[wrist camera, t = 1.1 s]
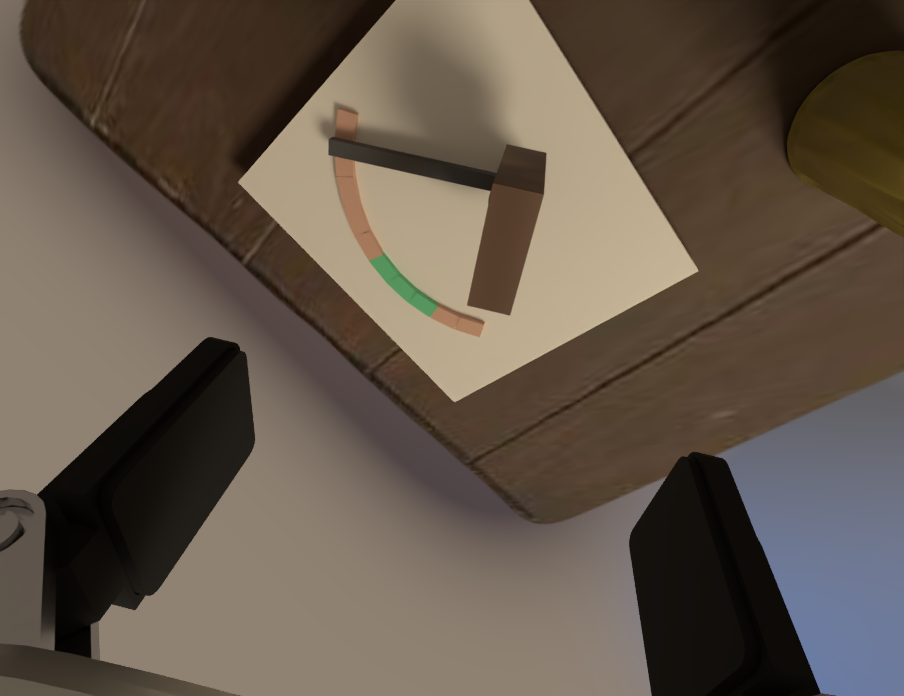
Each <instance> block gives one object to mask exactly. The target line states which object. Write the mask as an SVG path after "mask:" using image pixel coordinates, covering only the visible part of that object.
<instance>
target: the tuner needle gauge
mask: <svg viewBox="0 0 904 696" xmlns="http://www.w3.org/2000/svg"><path fill="white" fill-rule="evenodd" d="M328 155H330V156H335V157H339V158H344V159H348V160H353V161H357V162H362V163H366V164H371V165H375V166H380V167H384V168H389V169H393V170H397V171H402V172H406V173H411V174H415V175H420V176H424V177H429V178H433V179H438V180H442V181H447V182H451V183H456V184H460V185H465V186H469V187H474V188H478V189H482V190H487V191H491V192H490V195H489V199H488V209H487V213H486V218H485V223H484V227H483V232H482V237H481V241H480V246H479V251H478V255H477V260H476V265H475V269H474V274H473V279H472V283H471V288H470V293H469V297H468V302H467V306H471V307H475V308H479V309H484V310H488V311H492V312H497V313H501V314H505V315H509V316H510V314H511V311H512V307H513V304H514V300H515V297H516V293H517V289H518V286H519V282H520V279H521V275H522V272H523V268H524V264H525V261H526V257H527V254H528V250H529V247H530V243H531V239H532V236H533V232H534V229H535V225H536V222H537V218H538V214H539V211H540V207H541V204H542V200H543V197H544V187H545V171H546V155H547V153H545V152H541V151H536V150H532V149H527V148H522V147H518V146H513V145H509V144H507V145H506V148H505V151H504V154H503V157H502V159H501V162H500V165H499V168H498V170H497V173H495V172H490V171H486V170H481V169H477V168H472V167H468V166H463V165H459V164H454V163H450V162H445V161H441V160H436V159H431V158H427V157H422V156H418V155H413V154H409V153H404V152H400V151H395V150H391V149H386V148H382V147H377V146H373V145H368V144H364V143H359V142H355V141H350V140H346V139H341V138H337V137H331V138H330V139H329V144H328Z"/></svg>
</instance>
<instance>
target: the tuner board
mask: <svg viewBox="0 0 904 696" xmlns="http://www.w3.org/2000/svg"><path fill="white" fill-rule="evenodd" d="M331 137H337V138H341V139H346V140H350V141H355V142H359V143H364V144H368V145H373V146H377V147H382V148H386V149H391V150H395V151H400V152H404V153H409V154H413V155H418V156H422V157H427V158H431V159H436V160H441V161H445V162H450V163H454V164H459V165H463V166H468V167H472V168H477V169H481V170H486V171H490V172H495V173H497V170H498V168H499V165H500V162H501V159H502V157H503V154H504V151H505V148H506V145H507V144H509V145H513V146H518V147H522V148H527V149H532V150H536V151H541V152H545V153H547V155H546V171H545V187H544V197H543V200H542V204H541V207H540V211H539V214H538V218H537V222H536V225H535V229H534V232H533V236H532V239H531V243H530V247H529V250H528V254H527V257H526V261H525V264H524V268H523V272H522V275H521V279H520V282H519V286H518V289H517V293H516V297H515V300H514V304H513V307H512V311H511V314H510V316H509V315H505V314H501V313H497V312H492V311H488V310H484V309H479V308H475V307H471V306H467V302H468V297H469V293H470V288H471V283H472V279H473V274H474V269H475V265H476V260H477V255H478V251H479V246H480V241H481V237H482V232H483V227H484V223H485V218H486V213H487V209H488V199H489V195H490V192H491V191H487V190H482V189H478V188H474V187H469V186H465V185H460V184H456V183H451V182H447V181H442V180H438V179H433V178H429V177H424V176H420V175H415V174H411V173H406V172H402V171H397V170H393V169H389V168H384V167H380V166H375V165H371V164H366V163H362V162H357V161H353V160H348V159H344V158H339V157H335V156H330V155H328V144H329V139H330V138H331ZM238 183H239V184H240V185H241V186H242V187H243V188H244V189H245V190H246V191H247V192H248V193H249V194H250V195H251V196H252V197H253V198H254V199H255V200H256V201H257V202H258V203H259V204H260V205H261V206H262V207H263V208H264V209H265V210H266V211H267V212H268V213H269V214H270V215H271V216H272V217H273V218H274V219H275V220H276V221H277V222H278V223H279V224H280V225H281V226H282V227H283V228H284V229H285V230H286V231H287V233H288V234H289V235H290V236H291V237H292V238H293V239H294V240H295V241H296V242H297V243H298V244H299V245H300V246H301V247H302V248H303V249H304V250H305V251H306V252H307V253H308V254H309V255H310V256H311V257H312V258H313V259H314V260H315V261H316V262H317V263H318V264H319V265H320V266H321V267H322V268H323V269H324V270H325V271H326V272H327V273H328V274H329V275H330V276H331V277H332V278H333V279H334V280H335V281H336V282H337V283H338V284H339V285H340V286H341V287H342V288H343V289H344V290H345V292H346V293H347V294H348V295H349V296H350V297H351V298H352V299H353V300H354V301H355V302H356V303H357V304H358V305H359V306H360V307H361V308H362V309H363V310H364V311H365V312H366V313H367V314H368V315H369V316H370V317H371V318H372V319H373V320H374V321H375V322H376V323H377V324H378V325H379V326H380V327H381V328H382V329H383V330H384V331H385V332H386V333H387V334H388V335H389V336H390V337H391V338H392V339H393V340H394V341H395V342H396V343H397V344H398V345H399V346H400V347H401V348H402V349H403V350H404V352H405V353H406V354H407V355H408V356H409V357H410V358H411V359H412V360H413V361H414V362H415V363H416V364H417V365H418V366H419V367H420V368H421V369H422V370H423V371H424V372H425V373H426V374H427V375H428V376H429V377H430V378H431V379H432V380H433V381H434V382H435V383H436V384H437V385H438V386H439V387H440V388H441V389H442V390H443V391H444V392H445V393H446V394H447V395H448V396H449V397H450V398H451V399H452V400H453V401H454V402H456V401H458V400H460V399H461V398H463V397H465V396H467V395H469V394H471V393H473V392H474V391H476V390H478V389H480V388H482V387H484V386H486V385H487V384H489V383H491V382H493V381H495V380H497V379H499V378H500V377H502V376H504V375H506V374H508V373H510V372H512V371H513V370H515V369H517V368H519V367H521V366H523V365H525V364H527V363H528V362H530V361H532V360H534V359H536V358H538V357H540V356H541V355H543V354H545V353H547V352H549V351H551V350H553V349H554V348H556V347H558V346H560V345H562V344H564V343H566V342H567V341H569V340H571V339H573V338H575V337H577V336H579V335H580V334H582V333H584V332H586V331H588V330H590V329H592V328H593V327H595V326H597V325H599V324H601V323H603V322H605V321H606V320H608V319H610V318H612V317H614V316H616V315H618V314H619V313H621V312H623V311H625V310H627V309H629V308H631V307H633V306H634V305H636V304H638V303H640V302H642V301H644V300H646V299H647V298H649V297H651V296H653V295H655V294H657V293H659V292H660V291H662V290H664V289H666V288H668V287H670V286H672V285H673V284H675V283H677V282H679V281H681V280H683V279H685V278H686V277H688V276H690V275H692V274H694V273H696V272H698V269H697V267H696V265H695V263H694V262H693V260H692V258H691V257H690V255H689V253H688V252H687V250H686V249H685V247H684V245H683V244H682V242H681V241H680V239H679V237H678V236H677V234H676V233H675V231H674V229H673V228H672V226H671V225H670V223H669V221H668V220H667V218H666V217H665V215H664V213H663V212H662V210H661V209H660V207H659V205H658V204H657V202H656V201H655V199H654V197H653V196H652V194H651V193H650V191H649V189H648V188H647V186H646V185H645V183H644V182H643V180H642V178H641V177H640V175H639V174H638V172H637V170H636V169H635V167H634V166H633V164H632V162H631V161H630V159H629V158H628V156H627V154H626V153H625V151H624V150H623V148H622V146H621V145H620V143H619V142H618V140H617V138H616V137H615V135H614V134H613V132H612V130H611V129H610V127H609V126H608V124H607V122H606V121H605V119H604V118H603V116H602V114H601V113H600V111H599V110H598V108H597V106H596V105H595V103H594V102H593V100H592V98H591V97H590V95H589V94H588V92H587V91H586V89H585V87H584V86H583V84H582V83H581V81H580V79H579V78H578V76H577V75H576V73H575V71H574V70H573V68H572V67H571V65H570V63H569V62H568V60H567V59H566V57H565V55H564V54H563V52H562V51H561V49H560V47H559V46H558V44H557V43H556V41H555V39H554V38H553V36H552V35H551V33H550V31H549V30H548V28H547V27H546V25H545V23H544V22H543V20H542V19H541V17H540V15H539V14H538V12H537V11H536V9H535V7H534V6H533V4H532V3H531V1H530V0H395V2H394V3H393V4H392V5H391V6H390V7H389V9H388V10H387V11H386V12H385V13H384V14H383V15H382V17H381V18H380V19H379V20H378V21H377V22H376V24H375V25H374V26H373V27H372V28H371V29H370V30H369V32H368V33H367V34H366V35H365V36H364V37H363V39H362V40H361V41H360V42H359V43H358V44H357V45H356V47H355V48H354V49H353V50H352V51H351V52H350V54H349V55H348V56H347V57H346V58H345V59H344V61H343V62H342V63H341V64H340V65H339V66H338V67H337V69H336V70H335V71H334V72H333V73H332V74H331V76H330V77H329V78H328V79H327V80H326V81H325V82H324V84H323V85H322V86H321V87H320V88H319V89H318V91H317V92H316V93H315V94H314V95H313V96H312V97H311V99H310V100H309V101H308V102H307V103H306V104H305V106H304V107H303V108H302V109H301V110H300V111H299V112H298V114H297V115H296V116H295V117H294V118H293V119H292V121H291V122H290V123H289V124H288V125H287V126H286V127H285V129H284V130H283V131H282V132H281V133H280V134H279V136H278V137H277V138H276V139H275V140H274V141H273V142H272V144H271V145H270V146H269V147H268V148H267V149H266V151H265V152H264V153H263V154H262V155H261V156H260V157H259V159H258V160H257V161H256V162H255V163H254V164H253V166H252V167H251V168H250V169H249V170H248V171H247V172H246V174H245V175H244V176H243V177H242V178H241V179H240V181H239V182H238Z"/></svg>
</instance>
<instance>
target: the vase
mask: <svg viewBox="0 0 904 696" xmlns="http://www.w3.org/2000/svg"><path fill="white" fill-rule="evenodd" d="M787 154H788V160H789V163H790V166H791V168H792V170H793V171H794V173H795V174H796V175H797V176H798V177H799V178H800V179H801V180H802V181H803V182H804V183H805V184H807V185H808V186H810V187H812V188H816V189H820V190H822V191H823V192H825V193H827V194H829V195H831V196H833V197H835V198H837V199H839V200H840V201H842V202H844V203H846V204H848V205H850V206H851V207H853V208H855V209H857V210H858V211H860V212H862V213H863V214H865V215H866V216H868V217H869V218H871V219H873V220H874V221H876V222H877V223H879V224H881V225H883V226H884V227H886V228H888V229H889V230H891V231H893V232H894V233H896V234H898V235H900V236H902V237H904V51H887V52H879V53H874V54H869V55H866V56H863V57H860V58H858V59H856V60H854V61H851V62H849V63H847V64H846V65H844V66H842V67H840V68H839V69H837V70H836V71H834V72H833V73H831V74H830V75H829V76H827V77H826V78H825V79H824V80H823V81H821V82H820V83H819V84H818V85H817V86H816V87H815V88H814V89H813V90H812V91H811V93H810V94H809V95H808V96H807V98H806V99H805V100H804V101H803V103H802V105H801V106H800V108H799V109H798V111H797V113H796V115H795V117H794V120H793V122H792V125H791V128H790V131H789V134H788V139H787Z"/></svg>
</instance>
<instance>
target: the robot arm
mask: <svg viewBox="0 0 904 696" xmlns="http://www.w3.org/2000/svg"><path fill="white" fill-rule="evenodd" d="M254 443H255V433H254V423H253V414H252V404H251V395H250V385H249V376H248V367H247V357H246V354H245V352H242V351H240V347H239V346H238V344H237V343H234V342H229V341H225V340H221V339H217V338H213V337H208V338H206V339H205V340H204V341H202V342H201V343H200V344H199V345H198V346H197V347H196V348H195V349H194V350H193V351H192V352H191V353H190V354H188V355H187V357H185V358H184V359H183V360H182V361H181V362H180V363H179V364H178V365H177V366H176V367H175V368H174V369H173V370H172V371H170V372H169V373H168V374H167V375H166V376H165V377H164V378H163V379H162V380H161V381H160V382H159V383H158V384H157V385H156V386H155V387H154V388H153V389H151V390H149V391H148V392H147V393H145V394H144V395H143V396H142V397H141V398H139V399H138V400H137V401H136V402H135V403H134V404H133V405H132V406H131V407H130V408H129V409H128V410H127V411H126V412H125V413H124V414H123V415H121V416H120V417H119V418H118V419H117V420H116V421H115V422H114V423H113V424H112V425H111V426H110V427H109V428H108V429H106V430H105V431H104V432H103V433H102V434H101V435H100V436H99V437H98V438H97V439H96V440H95V441H94V442H93V443H92V444H91V445H89V446H88V447H87V448H86V449H85V450H84V451H83V452H82V453H81V454H80V455H79V456H78V457H77V458H76V459H75V460H73V461H72V462H71V463H70V464H69V465H68V466H67V467H66V468H65V469H64V470H63V471H62V472H61V473H60V474H59V475H58V476H57V477H56V478H54V479H53V480H52V481H51V482H50V483H49V484H48V485H47V486H46V487H45V488H44V489H43V490H42V491H40V492H39V494H37V495H36V494H34V493H31V492H28V491H25V490H3V491H0V696H239V695H236V694H231V693H228V692H224V691H220V690H216V689H212V688H209V687H205V686H201V685H197V684H193V683H189V682H186V681H182V680H178V679H174V678H170V677H166V676H163V675H159V674H154V673H150V672H146V671H142V670H138V669H133V668H129V667H125V666H121V665H117V664H113V663H108V662H104V661H100V652H99V623H98V621H100V619H101V618H102V617H103V615H104V614H105V612H106V611H107V610H108V609H109V607H110V606H111V604H113V605H117V606H121V607H125V608H128V609H133V610H136V609H137V607H138V606H139V604H140V602H141V601H142V600H143V598H144V597H145V596H146V595H147V596H150V595H153V594H154V593H155V592H156V591H157V590H158V589H159V588H160V586H161V585H162V584H163V582H164V581H165V579H166V578H167V576H168V575H169V573H170V572H171V570H172V569H173V567H174V566H175V564H176V563H177V561H178V560H179V558H180V557H181V555H182V554H183V553H184V551H185V549H186V548H187V547H188V545H189V543H190V542H191V541H192V539H193V538H194V536H195V535H196V533H197V532H198V530H199V529H200V528H201V526H202V525H203V523H204V521H205V520H206V519H207V517H208V516H209V514H210V513H211V511H212V510H213V508H214V507H215V505H216V504H217V502H218V501H219V499H220V498H221V496H222V495H223V493H224V492H225V490H226V489H227V488H228V486H229V485H230V483H231V482H232V480H233V479H234V477H235V476H236V474H237V473H238V471H239V470H240V468H241V467H242V466H243V464H244V463H245V461H246V460H247V458H248V456H249V455H250V453H251V452H252V449H253V447H254ZM629 547H630V555H631V561H632V568H633V575H634V580H635V588H636V594H637V601H638V607H639V614H640V621H641V627H642V634H643V640H644V647H645V654H646V660H647V667H648V673H649V680H650V687H651V693H652V696H835V695H828V694H821V693H820V690H819V688H818V685H817V683H816V680H815V678H814V675H813V673H812V670H811V668H810V665H809V663H808V660H807V658H806V655H805V653H804V650H803V648H802V645H801V643H800V640H799V638H798V635H797V633H796V630H795V628H794V625H793V623H792V620H791V618H790V615H789V613H788V610H787V608H786V605H785V603H784V600H783V598H782V595H781V593H780V590H779V588H778V586H777V583H776V580H775V578H774V575H773V573H772V570H771V568H770V565H769V563H768V560H767V558H766V555H765V553H764V550H763V548H762V545H761V544H760V542H759V540H758V538H757V536H756V534H755V531H754V529H753V526H752V524H751V521H750V519H749V516H748V514H747V511H746V509H745V506H744V504H743V501H742V499H741V496H740V494H739V491H738V489H737V486H736V484H735V481H734V478H733V476H732V474H731V471H730V468H729V466H728V464H727V462H726V461H725V460H724V459H723V458H719V457H715V456H711V455H706V454H702V453H698V452H692V453H690V454H689V456H688V457H683V456H682V457H681V458H680V459H679V460H678V461H677V463H676V464H675V466H674V467H673V469H672V470H671V472H670V473H669V475H668V476H667V478H666V479H665V481H664V482H663V484H662V485H661V487H660V489H659V490H658V492H657V493H656V495H655V496H654V498H653V499H652V501H651V502H650V504H649V505H648V507H647V508H646V510H645V511H644V513H643V515H642V516H641V518H640V519H639V521H638V522H637V524H636V525H635V527H634V528H633V530H632V532H631V535H630V540H629Z"/></svg>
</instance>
